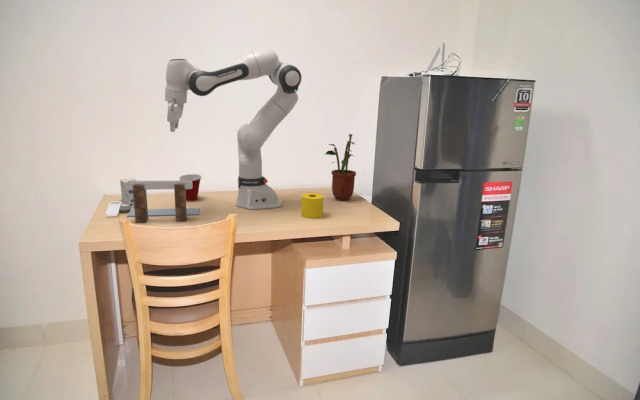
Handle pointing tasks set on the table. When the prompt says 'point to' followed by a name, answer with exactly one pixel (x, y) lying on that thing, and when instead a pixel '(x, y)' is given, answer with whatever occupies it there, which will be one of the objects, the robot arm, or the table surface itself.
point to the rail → (158, 184)
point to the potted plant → (343, 175)
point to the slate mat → (165, 212)
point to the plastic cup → (192, 193)
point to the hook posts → (142, 209)
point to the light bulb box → (127, 192)
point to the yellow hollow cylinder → (312, 205)
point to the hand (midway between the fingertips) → (174, 129)
